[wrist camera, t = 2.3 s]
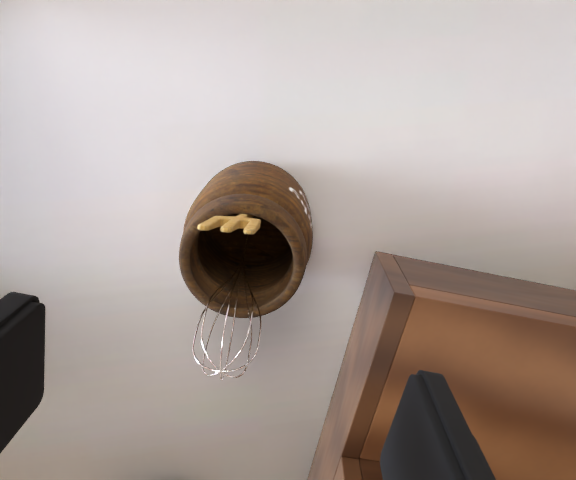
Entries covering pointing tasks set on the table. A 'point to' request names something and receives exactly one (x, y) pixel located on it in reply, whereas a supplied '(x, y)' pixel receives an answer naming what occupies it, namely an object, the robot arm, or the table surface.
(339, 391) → the step shelf
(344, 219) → the table surface
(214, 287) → the utensil holder
